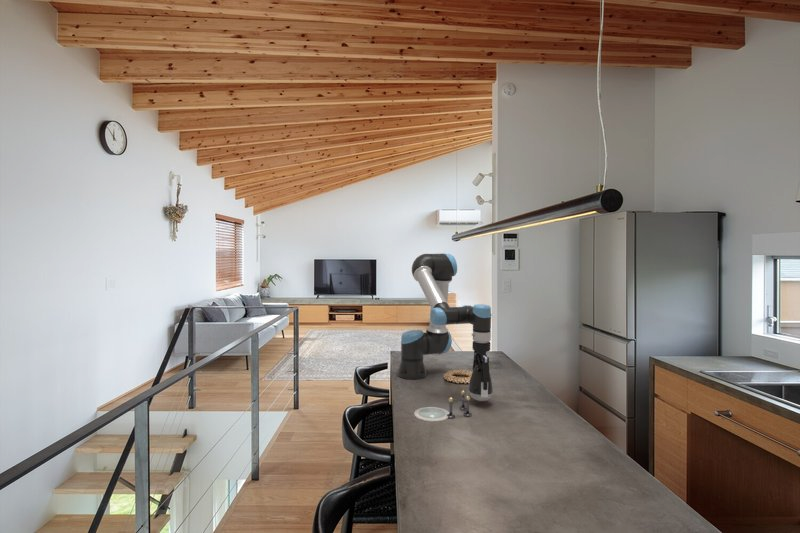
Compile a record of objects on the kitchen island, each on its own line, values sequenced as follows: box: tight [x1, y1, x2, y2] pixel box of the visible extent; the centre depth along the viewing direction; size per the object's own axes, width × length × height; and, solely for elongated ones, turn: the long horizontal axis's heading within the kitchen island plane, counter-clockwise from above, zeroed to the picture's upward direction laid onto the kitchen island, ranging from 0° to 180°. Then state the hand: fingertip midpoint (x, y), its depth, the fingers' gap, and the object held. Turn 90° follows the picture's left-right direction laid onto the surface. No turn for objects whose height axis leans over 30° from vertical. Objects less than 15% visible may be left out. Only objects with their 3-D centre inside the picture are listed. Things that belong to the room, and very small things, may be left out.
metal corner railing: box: [447, 390, 473, 419], centre depth 171 cm, size 11×10×8 cm
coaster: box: [413, 406, 449, 423], centre depth 169 cm, size 14×14×1 cm
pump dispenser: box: [468, 364, 494, 402], centre depth 181 cm, size 10×10×15 cm
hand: (480, 392), depth 182 cm, fingers closed on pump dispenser, 10 cm apart
